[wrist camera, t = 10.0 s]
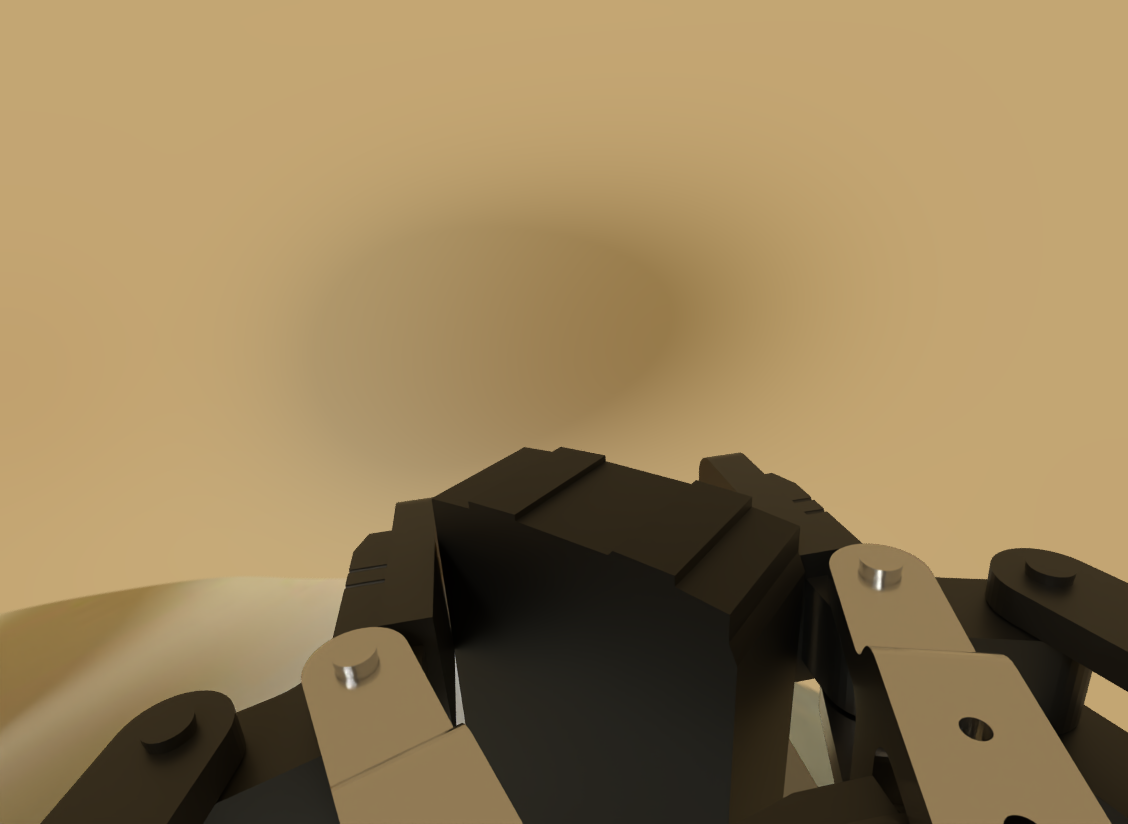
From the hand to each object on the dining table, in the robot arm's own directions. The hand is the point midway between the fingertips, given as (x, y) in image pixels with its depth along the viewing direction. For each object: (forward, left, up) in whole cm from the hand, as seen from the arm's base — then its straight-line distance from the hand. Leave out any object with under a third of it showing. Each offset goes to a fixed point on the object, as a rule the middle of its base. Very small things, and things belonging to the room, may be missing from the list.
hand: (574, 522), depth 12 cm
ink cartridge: (+1, -2, -6) cm, 7 cm away
